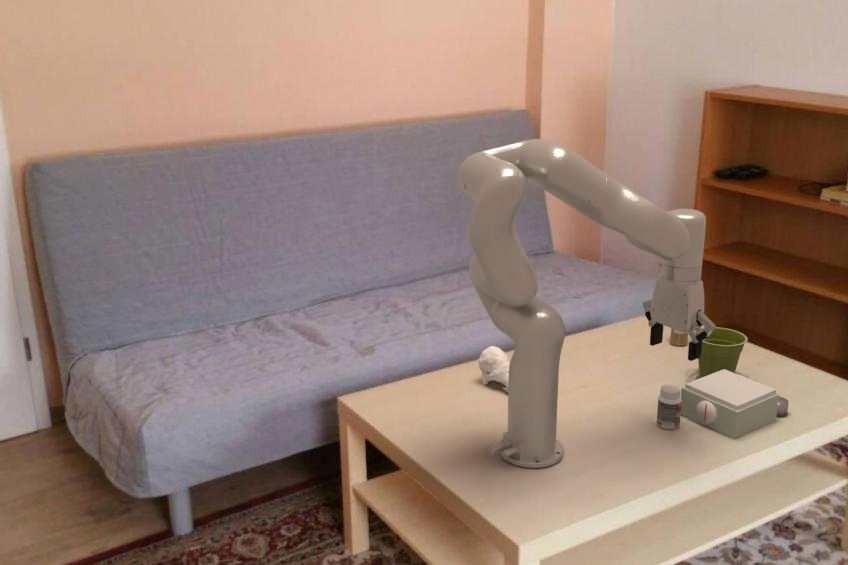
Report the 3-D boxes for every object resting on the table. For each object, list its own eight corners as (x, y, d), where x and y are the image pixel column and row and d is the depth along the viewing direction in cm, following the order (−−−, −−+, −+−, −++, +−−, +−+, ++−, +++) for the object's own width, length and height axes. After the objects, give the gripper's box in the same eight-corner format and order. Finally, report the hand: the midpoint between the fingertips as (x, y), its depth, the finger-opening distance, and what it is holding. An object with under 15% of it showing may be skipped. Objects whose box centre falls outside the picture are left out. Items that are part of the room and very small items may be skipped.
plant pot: (753, 383, 204) (758, 338, 201) (720, 396, 198) (725, 349, 195) (711, 366, 214) (715, 322, 210) (678, 378, 207) (682, 333, 204)
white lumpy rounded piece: (498, 340, 208) (531, 361, 199) (495, 372, 211) (528, 394, 202) (476, 346, 204) (509, 368, 195) (474, 378, 208) (506, 401, 199)
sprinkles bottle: (679, 348, 224) (684, 298, 220) (665, 342, 228) (669, 293, 224) (691, 343, 227) (696, 294, 223) (677, 338, 231) (681, 289, 226)
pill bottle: (680, 431, 183) (683, 394, 180) (656, 429, 184) (659, 392, 181) (678, 420, 187) (682, 384, 185) (655, 418, 188) (658, 382, 186)
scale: (732, 439, 179) (735, 408, 177) (677, 414, 190) (679, 384, 188) (775, 420, 187) (779, 389, 185) (720, 396, 198) (723, 367, 196)
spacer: (778, 419, 187) (780, 407, 187) (760, 412, 191) (762, 399, 190) (791, 414, 190) (792, 401, 189) (773, 406, 193) (774, 394, 192)
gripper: (635, 264, 180) (629, 342, 186) (705, 286, 167) (697, 369, 172) (659, 258, 184) (653, 334, 190) (730, 279, 171) (721, 360, 176)
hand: (674, 351), depth 181 cm, fingers open, 9 cm apart
